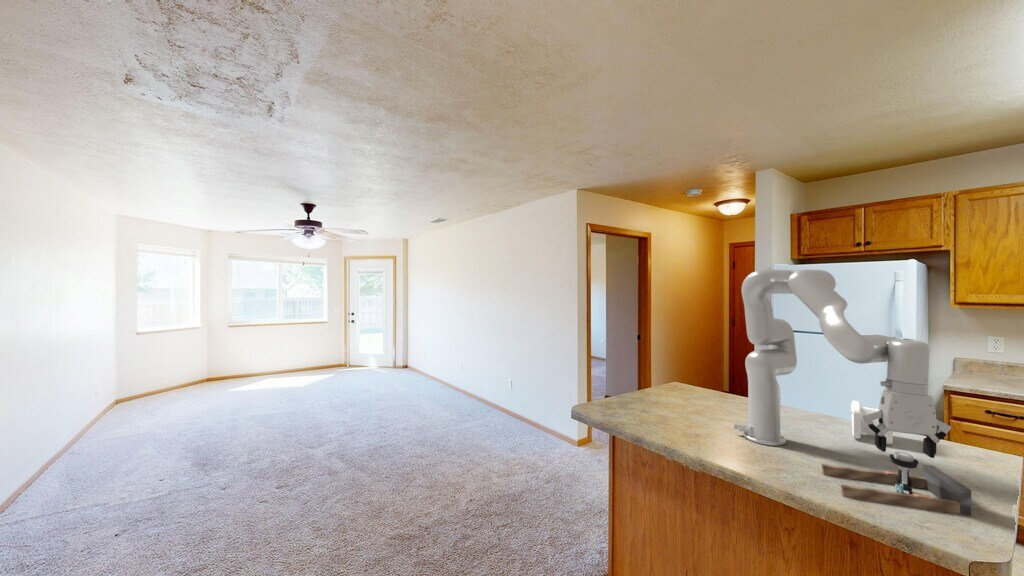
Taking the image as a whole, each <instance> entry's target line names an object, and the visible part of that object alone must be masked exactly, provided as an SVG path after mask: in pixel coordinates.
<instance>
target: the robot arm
mask: <svg viewBox="0 0 1024 576" xmlns="http://www.w3.org/2000/svg"><path fill="white" fill-rule="evenodd" d="M742 281H743V282H742V285H741V295H742V296H741V297H742V301H743V306H744V318H745V326H746V335H747V339H748V340H749V342H750V343H751V344H752V345H754V346H768V348H764V349H757V350H753V351H751V352H749V354H747V356H746V357H745V360H744V361H745V362H744V365H745V372H746V375H747V376H746V377H747V387H748V388H747V389H748V390H747V391H748V392H747V393H748V394H747V398H748V401H747V403H748V405H747V406H748V407H747V408H748V409H747V410H748V411H747V414H748V415H747V418H748V419H747V421H746V422H745V423H743V424H739V423H733V428H732V429H733V430H738V432H742V433H743V434H742V435H743V437H744V438H745V439H747V440H749V441H750V442H754V443H757V444H760V445H766V446H772V447H773V446H777V447H778V446H783V445H785V444H786V442H787V440H786V438H785V437H784V436H783V435H781V389H780V385H779V382H778V380H777V377H778V376H779V377H780V376H786V375H790V374H792V373H793V372H794V371H795V370H796V368H797V364H798V360H797V359H798V358H797V351H796V350H797V348H796V341H795V340H796V339H795V332H794V329H793V328H792V326H791V324H790V323H789V322H787V321H786V320H785V319H781V318H775V317H774V313H773V312H774V310H773V305H772V302H771V300H770V299H769V297H768V295H769V294H771V295H772V294H773V295H774V294H777V295H778V294H779V295H780V294H782V295H783V294H784V295H785V294H786V295H788V294H790V295H791V294H792V295H794V296H795V297H797V298H798V299H799V301H801V302H802V303H803V304H804V305H805V307H807V308H808V309H809V311H810V312H811V313H812V314H813V315H814V316H816V318H817V319H818V323H819V326H820V329H821V331H822V335H823V336H824V338H825V339H826V340H827V342H829V344H830V345H831V346H832V347H833V348H834V349H835V351H837V352H838V353H839V354H840V355H841V356H843V357H844V358H845V359H847V360H848V361H850V362H851V363H855V364H859V365H860V364H862V365H863V364H872V363H874V364H875V363H887V369H886V370H887V372H886V378H885V380H881V381H880V382H879V383H880V386H881V387H885V388H884V389H883V391H882V394H881V397H880V401H879V405H878V409H879V411H878V412H875V413H871V414H868V415H865V416H863V419H864V420H865V422H866V424H867V426H868V427H869V428H870V429H871V430H872V431H873V432H875V435H874V445H875V447H876V448H877V449H878V450H879V451H881V452H883V453H885V452H887V444H886V437H885V436H884V435H885V434H886V433H887V432H889V431H893V433H901V434H911V435H917V436H918V435H919V436H924V437H923V441H922V453H923V454H924V455H926V456H927V457H929V458H930V459H935V455H936V453H937V443H940V442H941V440H942V439H944V438H945V437H946V436H947V434H949V432H950V430H951V429H952V426H951V425H949V424H947V423H945V422H943V421H940V420H939V419H937V413H936V407H935V403H934V402H935V400H934V398H933V395H930V394H929V377H930V376H929V375H930V374H929V371H930V370H929V369H930V350H931V349H930V346H929V344H928V343H927V342H924V341H922V340H921V341H920V340H915V339H905V338H904V339H902V338H894V337H891V336H886V335H884V334H883V335H881V334H864V335H861V334H860V333H859V332H858V331H857V330H856V329H855V328H854V327H853V326H852V325H851V323H849V322H848V320H847V319H846V317H845V314H844V313H845V310H846V309H847V307H848V302H847V300H846V299H845V298H844V297H843V296H841V295H840V294H839V293H838V292H837V291H836V290H835V288H836V286H837V283H836V279H835V277H834V276H833V274H832V273H830V272H829V271H827V270H823V269H798V270H797V269H773V268H772V269H771V268H770V269H767V268H765V269H759V270H756V271H753V272H751V273H749V274H748V275H747V276H746V277H745V279H744V280H742ZM875 419H878V422H879V424H878V425H877V426H875V425H874V424H873V420H875ZM937 426H938V427H937Z"/></svg>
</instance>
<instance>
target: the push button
mask: <svg viewBox="0 0 1024 576" xmlns="http://www.w3.org/2000/svg"><path fill="white" fill-rule="evenodd" d="M889 458H890V462H891V463H892V464H894V465H895V466H897V467H898V472H897V473H898V476H896V477H895V481H896V483H897V484H894V485H895V486H894V487H895V491H898V493H905V494H912V495H913V487H911V485H912V480H911V479H910V477H909V476H910V471H909V470H913V469H917V468H918V465H919V460H918V459H916V458H914V456H913V455H912V454H910V453H906V452H902V451H894V452H893V453H891V454H889Z"/></svg>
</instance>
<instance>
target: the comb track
mask: <svg viewBox="0 0 1024 576" xmlns="http://www.w3.org/2000/svg"><path fill="white" fill-rule="evenodd" d="M821 473H822V475H824V476H829V477H830V476H831V477H836V478H837V477H838V478H844V479H850V480H851V479H852V480H860V481H867V482H876V483H881V484H888V485H889V484H890V485H895V484H897V483H896V481H895V477H896V476H898V473H899V472H895V471H886V470H885V472H884V471H878V470H876V471H875V470H870V469H869V470H868V469H861V468H854V467H847V466H846V467H845V466H838V465H831V464H821ZM909 477H910V479H911V480H912V485H911V487H912V488H919V489H926V490H927V491H928V492H930V493H931V494H932V495H933V496H934V497H932V496H930V495H927V494H920V493H913V492H912V494H911V493H910V494H905V493H899V491H890V490H889V491H888V490H882V489H874V488H869V487H861V486H853V485H848V484H841V485H840V488H841V489H840V493H841V496H842V497H844V498H849V499H850V498H852V499H858V500H864V501H871V502H876V503H877V502H879V503H884V504H892V505H898V506H905V507H912V508H918V509H925V510H931V511H938V512H946V513H952V514H958V515H959V514H960V515H965V516H972V489H971V488H968V487H967V486H966V485H964V484H962V483H961V482H959V481H958V480H956V479H955V478H953V477H952V476H950V475H949V474H947V473H945V472H944V471H942V470H941V469H939V468H937V467H936V466H934V465H933V464H926V463H925V464H924V463H923V464H922V476H917V475H909Z"/></svg>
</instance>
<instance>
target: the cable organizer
mask: <svg viewBox="0 0 1024 576" xmlns="http://www.w3.org/2000/svg"><path fill="white" fill-rule="evenodd" d="M878 411H879V408H872V407H864V406H861V404H860V401H858V400H854V399H853V400H852V401H851V402H850V416H851V431H852V432H851V433H852V437H853V439H856V440H861V435H863V436H868V435H872V436H875V432H873V431H872V430H871V429H870V428H869V427H868V426H867V424H866V422H865V420H864V419H863V416H865V415H868V414H871V413H875V412H878ZM873 424H874V425H875V426H877V425H878V424H879V422H878V419H875V420H873ZM884 436H885V437H886V446H890V445H893V442H894V441H893V439H894V437H893V436H894V432H893V431H889V432H887V433H886V434H885V435H884Z"/></svg>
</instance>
